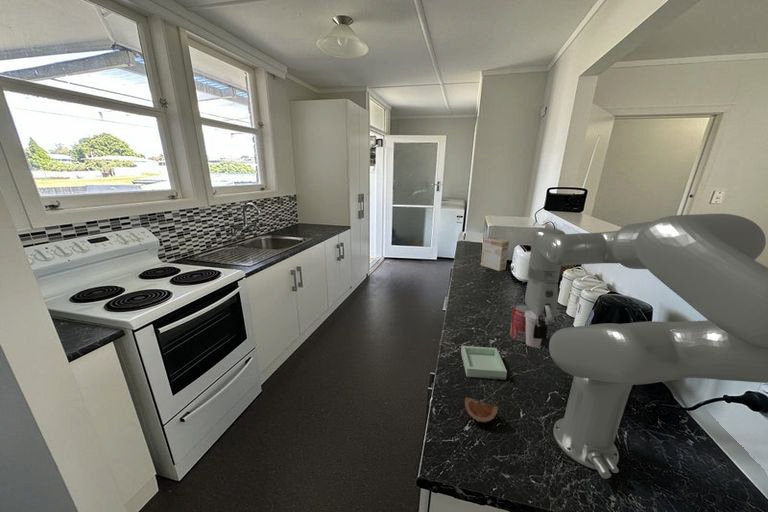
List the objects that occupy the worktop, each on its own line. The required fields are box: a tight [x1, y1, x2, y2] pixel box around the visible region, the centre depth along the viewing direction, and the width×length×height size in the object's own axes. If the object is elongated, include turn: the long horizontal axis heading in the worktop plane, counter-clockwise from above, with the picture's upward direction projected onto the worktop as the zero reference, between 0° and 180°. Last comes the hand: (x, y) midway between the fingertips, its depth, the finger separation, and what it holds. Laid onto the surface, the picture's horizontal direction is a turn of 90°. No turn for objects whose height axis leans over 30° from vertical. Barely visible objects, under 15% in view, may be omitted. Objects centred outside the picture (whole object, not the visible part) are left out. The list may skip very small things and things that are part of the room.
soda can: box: [509, 303, 527, 343], centre depth 105 cm, size 7×7×13 cm
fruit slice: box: [463, 396, 499, 423], centre depth 72 cm, size 8×7×5 cm
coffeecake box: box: [480, 236, 510, 272], centre depth 184 cm, size 15×7×20 cm, turn 32°
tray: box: [460, 345, 508, 380], centre depth 92 cm, size 12×12×3 cm
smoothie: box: [525, 310, 545, 348], centre depth 79 cm, size 6×6×14 cm
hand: (534, 331), depth 80 cm, fingers closed on smoothie, 6 cm apart
